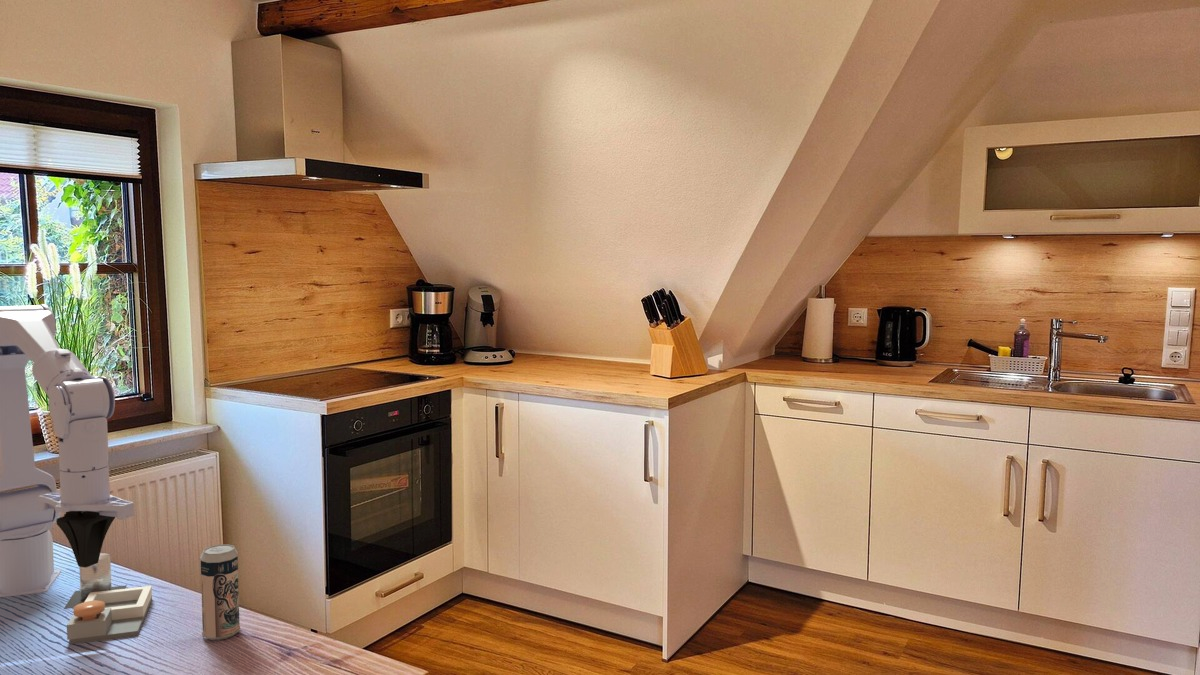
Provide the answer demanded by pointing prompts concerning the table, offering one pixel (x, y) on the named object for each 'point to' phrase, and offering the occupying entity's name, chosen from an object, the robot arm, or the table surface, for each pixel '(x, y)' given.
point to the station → (112, 615)
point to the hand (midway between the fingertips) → (88, 564)
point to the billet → (96, 577)
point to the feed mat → (76, 597)
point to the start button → (89, 609)
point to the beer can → (220, 592)
